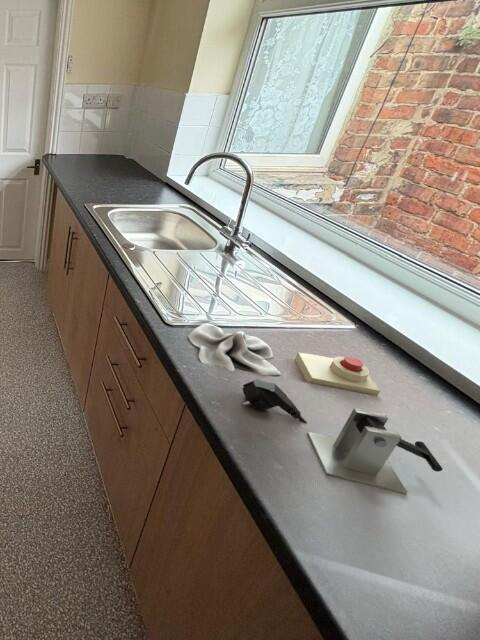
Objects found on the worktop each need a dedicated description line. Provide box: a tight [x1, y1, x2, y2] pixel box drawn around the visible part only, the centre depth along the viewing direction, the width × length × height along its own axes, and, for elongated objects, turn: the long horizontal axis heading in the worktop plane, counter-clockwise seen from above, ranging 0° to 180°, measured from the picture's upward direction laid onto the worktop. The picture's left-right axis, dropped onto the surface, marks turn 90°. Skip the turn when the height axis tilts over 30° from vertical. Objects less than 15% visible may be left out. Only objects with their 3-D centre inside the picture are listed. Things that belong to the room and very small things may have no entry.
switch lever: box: [356, 417, 443, 473], centre depth 69 cm, size 11×5×2 cm, turn 72°
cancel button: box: [341, 355, 364, 372], centre depth 90 cm, size 3×3×2 cm
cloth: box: [187, 323, 282, 377], centre depth 99 cm, size 22×19×6 cm
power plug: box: [242, 378, 308, 424], centre depth 84 cm, size 6×8×12 cm
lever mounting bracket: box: [306, 407, 408, 495], centre depth 71 cm, size 11×9×11 cm
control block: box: [294, 351, 381, 397], centre depth 92 cm, size 12×9×4 cm
